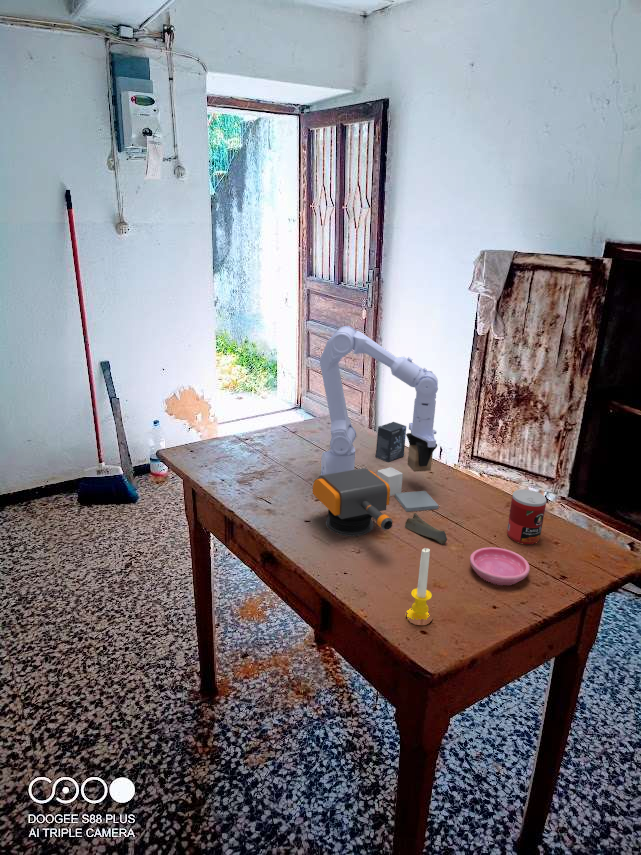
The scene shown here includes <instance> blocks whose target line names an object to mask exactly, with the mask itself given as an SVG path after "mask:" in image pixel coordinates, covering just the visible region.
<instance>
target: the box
mask: <svg viewBox="0 0 641 855" xmlns="http://www.w3.org/2000/svg"><path fill="white" fill-rule="evenodd" d="M377 427H378V428H377V435H376V436H377V437H376V448H375V449H376V450H375V458H378V459H380V460H382V461H385V462H387V463H390V462H391V461H395V460H397V459H399V458H403V457H405V449H406V448H405V447H406V438H407V436H406V434H407V425H404V424H402V423H398V422H395V421H392V422H388V423H386V424H383V425H382V424H381V425H379V426H377Z"/></svg>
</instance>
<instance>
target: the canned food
mask: <svg viewBox="0 0 641 855" xmlns="http://www.w3.org/2000/svg"><path fill="white" fill-rule="evenodd" d="M510 501H511V502H510V509H509V514H508V515H509V516H508V521H507V527H506V531H507V532H506V533H507V536H508V538H509V537H510V538H509V539H511V540H512V541H513V540H514V541H513V542H515V541H516V542H515V543H517V542H519V543H518V544H520V543H523V544H522V545H526V544H531V545H535V544H537V543H538V542H539V541H540V538H541V536H542V530H543V529H542V528H543V523H544V517H545V512H546V506H547V498H546V497H545V495H544V494H542V493H540V492H538V491H534V490H531V489H517V490H515V491H513V492H512V495H511V500H510ZM536 542H537V543H536ZM534 543H535V544H534Z"/></svg>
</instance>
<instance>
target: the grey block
mask: <svg viewBox="0 0 641 855" xmlns="http://www.w3.org/2000/svg"><path fill="white" fill-rule="evenodd" d="M376 473H377V474H376V475H377V476H379V477H380V478H381V479H382V480H384V481H385V482H386V483H388V484H389V487H390V497H391V496H395V493H402V489H403V488H402V486H403V474H404V473H403V472H401V471H399V470H397V469H395V468H394V467H392V466H389V467H387V468H386V467H385V468H383V469H379V470H377V472H376Z"/></svg>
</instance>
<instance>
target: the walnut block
mask: <svg viewBox="0 0 641 855" xmlns="http://www.w3.org/2000/svg"><path fill="white" fill-rule="evenodd" d="M433 453H434V452H433ZM433 453H432V455H431V457H430V459H429V462H428V464H427V466H421V467H420V466H419V454H418V449H417V446H416V445H410V444H408V455H407V466H408V467H409V468H410V469H411V471H413V472H414V473H415V472H427V471H428V472H429V471H430V472H431V471H432V462H433Z"/></svg>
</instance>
